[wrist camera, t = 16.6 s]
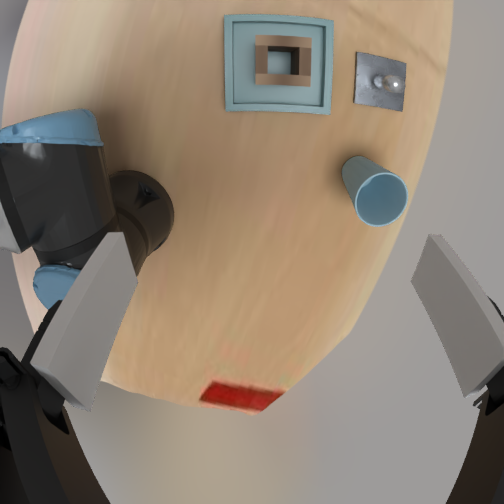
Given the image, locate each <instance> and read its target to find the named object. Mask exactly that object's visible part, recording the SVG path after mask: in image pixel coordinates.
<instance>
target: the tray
mask: <svg viewBox="0 0 504 504" xmlns="http://www.w3.org/2000/svg"><path fill="white" fill-rule="evenodd" d="M333 34H334V21H333V20H327V19H319V18H311V17H301V16H289V15H268V14H239V15H224V46H225V104H226V111H280V112H301V113H315V114H327V115H330V110H331V93H332V73H333ZM255 35H282V36H298V37H309V38H312V52H311V87H304V86H287V85H256V84H255ZM290 72H291V52H269V51H268V74H287V75H290Z"/></svg>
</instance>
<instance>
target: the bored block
mask: <svg viewBox="0 0 504 504" xmlns="http://www.w3.org/2000/svg"><path fill="white" fill-rule="evenodd" d="M268 51H269V52H291V72H290V75H287V74H268ZM311 52H312V38H309V37H298V36H282V35H255V84H256V85H287V86H304V87H311Z"/></svg>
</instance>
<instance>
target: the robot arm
mask: <svg viewBox="0 0 504 504" xmlns="http://www.w3.org/2000/svg"><path fill="white" fill-rule="evenodd" d="M103 146H104V143H103V142H102V141H101V138H100V134H99V130H98V125H97V120H96V117H95V115H94V114H93V113H92V112H91V111H89V110H87V109H74V110H68V111H62V112H57V113H53V114H48V115H44V116H40V117H37V118H33V119H30V120H26V121H23V122H21V123H17V124H14V125H12V126H8V127H5V128H3V129H1V130H0V250H8V251H11V252H14V253H17V254H20V253H22V252H23V251H25V250H26V249H28V248H29V247H31V246H32V247H33V249H34V251H35V253H36V256H37V258H38V260H39V262H40V267H39V268H38V269H37V270H36V271H35V276H34V279H33V280H34V282H33V288H34V291H35V293H36V295H37V297H38V299H39V300H40V301H41V303H42V304H43V305H44V306H45V307H46V308H47V309H48V312H47V313H46V315H45V317H44V319H43V322H41V324H40V326H39V328H38V331H36V333H35V335H34V337H33V339H32V341H31V343H30V345H29V347H28V349H27V351H26V353H25V355H24V357H23V359H22V361H21V362H19V361H18V359H17V358H16V357H15V356H14V355H13V354H12V352H11V351H10V350H9V349H8V348H4V347H2V348H0V504H110V502H109V500H108V499H107V497H106V495H105V493H104V492H103V490H102V488H101V486H100V485H99V483H98V481H97V479H96V477H95V476H94V473H93V471H92V469H91V467H90V465H89V463H88V461H87V459H86V457H85V455H84V453H83V450H82V448H81V446H80V444H79V441H78V439H77V436H76V434H75V432H74V429H73V427H72V424H71V421H70V419H69V416H68V413H67V411H66V409H65V407H64V406H63V403H64V400H67V401H68V402H69V403H70V404H71V405H72V406H73V407H76V408H80V409H83V410H86V411H91V408H92V404H93V401H94V398H95V395H96V392H97V389H98V385H99V382H100V379H101V376H102V373H103V370H104V368H105V365H106V362H107V359H108V356H109V353H110V351H111V348H112V345H113V343H114V340H115V337H116V335H117V332H118V330H119V327H120V324H121V322H122V319H123V317H124V314H125V312H126V310H127V307H128V305H129V302H130V300H131V298H132V295H133V293H134V291H135V288H136V286H137V284H138V281H137V276H138V274H139V271H140V269H141V267H142V265H143V263H144V261H145V259H146V257H147V256H149V255H150V254H151V253H152V252H153V251H155V250H156V249H158V248H159V247H160V246H161V245H162V244H163V243H164V242H165V241H166V239H167V237H168V235H169V233H170V231H171V229H172V226H173V222H174V210H173V205H172V202H171V200H170V198H169V196H168V194H167V192H166V191H165V190H164V188H163V187H162V186H161V185H160V184H159V183H158V182H157V181H156V180H154V179H153V178H151V177H150V176H148V175H146V174H143V173H140V172H136V171H121V172H117V173H114V174H112V175H110V176H109V175H108V171H107V166H106V161H105V156H104V151H103ZM411 283H412V285H413V286H414V288H415V290H416V292H417V294H418V296H419V298H420V299H421V301H422V303H423V305H424V307H425V309H426V311H427V313H428V315H429V317H430V319H431V321H432V323H433V325H434V327H435V329H436V331H437V333H438V336H439V338H440V340H441V342H442V344H443V347H444V349H445V351H446V353H447V356H448V358H449V360H450V363H451V365H452V367H453V370H454V373H455V375H456V378H457V380H458V383H459V385H460V388H461V390H462V393H463V396H464V398H466V397H468V396H471V395H473V394H476V393H477V392H479V391H480V390H481V389H482V388H483V387H484V386H485V385H487V388H488V390H487V391H486V392H484V393H483V394H482V395H481V396H480V397H479V398H478V399H477V400H476V401H474V404H473V406H476V405H477V404H478V403H479V402H480V401H481V400H482V403H481V404H480V405H479V406H478V407H477V408H479V409H480V412H479V416H478V420H477V424H476V427H475V431H474V434H473V437H472V440H471V443H470V446H469V450H468V452H467V455H466V458H465V461H464V463H463V466H462V469H461V471H460V473H459V476H458V478H457V480H456V483H455V485H454V487H453V489H452V492H451V494H450V496H449V498H448V500H447V502H446V504H504V316H503V315H501V312H500V310H499V308H498V307H497V306H496V304H495V303H494V302H493V301H492V300H491V299H490V298H489V297H488V296H487V295H486V293H485V292H484V291H483V289H482V288H481V286H480V285H479V283H478V282H477V281H476V279H475V278H474V276H473V275H472V273H471V272H470V271H469V270H468V268H467V267H466V265H465V264H464V263H463V262H462V260H461V259H460V258H459V256H458V255H457V254H456V252H455V251H454V250H453V249H452V247H451V246H450V245H449V244H448V242H447V241H446V240H445V239H444V238H443V236H442V235H434V234H433V235H432V234H429V235H428V239H427V241H426V244H425V246H424V249H423V252H422V255H421V257H420V260H419V262H418V265H417V268H416V270H415V272H414V275H413V277H412V280H411Z"/></svg>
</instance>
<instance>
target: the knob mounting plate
mask: <svg viewBox="0 0 504 504" xmlns="http://www.w3.org/2000/svg"><path fill="white" fill-rule="evenodd" d="M405 78H406V63H403V62H399V61H396V60H392V59H388V58H384V57H380V56H375V55H371V54H366V53H361V52H356V68H355V87H354V101H353V103H357V104H364V105H370V106H376V107H381V108H387V109H392V110H397V111H401V112H402V110H403V101H404V90H405Z"/></svg>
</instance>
